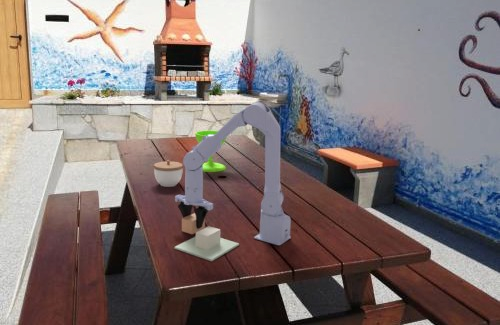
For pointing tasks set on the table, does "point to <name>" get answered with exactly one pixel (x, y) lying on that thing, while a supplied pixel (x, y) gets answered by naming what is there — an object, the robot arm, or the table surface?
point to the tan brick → (191, 224)
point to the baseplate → (209, 254)
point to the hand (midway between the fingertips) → (193, 225)
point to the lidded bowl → (168, 173)
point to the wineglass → (210, 165)
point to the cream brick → (208, 238)
